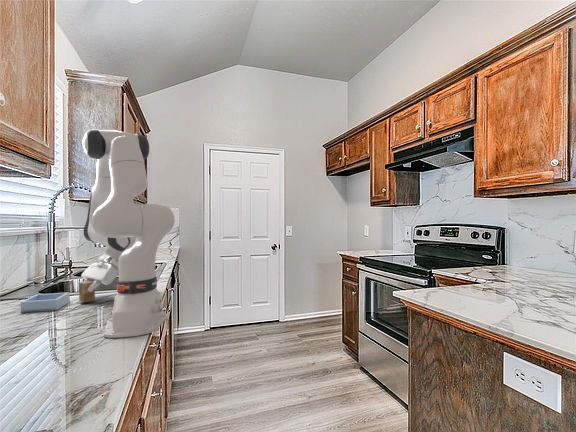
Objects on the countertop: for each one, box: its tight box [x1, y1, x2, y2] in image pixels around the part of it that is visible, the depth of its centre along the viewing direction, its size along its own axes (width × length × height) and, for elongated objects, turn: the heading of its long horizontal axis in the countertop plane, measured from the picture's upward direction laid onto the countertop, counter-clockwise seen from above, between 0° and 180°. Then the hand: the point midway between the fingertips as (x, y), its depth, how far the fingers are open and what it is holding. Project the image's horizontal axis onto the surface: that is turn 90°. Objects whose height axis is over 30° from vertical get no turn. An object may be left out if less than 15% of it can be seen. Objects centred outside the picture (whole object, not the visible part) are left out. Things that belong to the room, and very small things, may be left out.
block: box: [78, 281, 96, 303], centre depth 133 cm, size 4×4×8 cm
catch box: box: [20, 292, 71, 314], centre depth 127 cm, size 12×12×4 cm
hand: (85, 290), depth 132 cm, fingers closed on block, 4 cm apart
